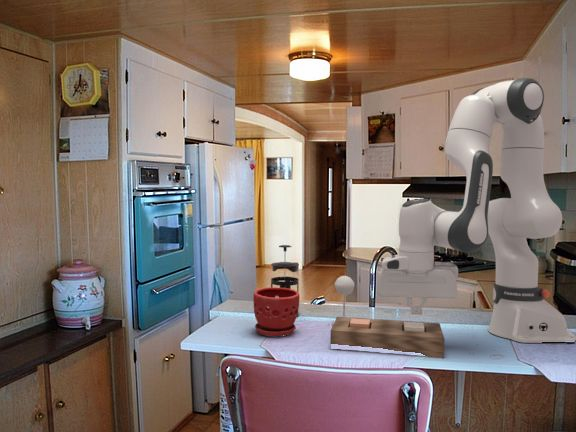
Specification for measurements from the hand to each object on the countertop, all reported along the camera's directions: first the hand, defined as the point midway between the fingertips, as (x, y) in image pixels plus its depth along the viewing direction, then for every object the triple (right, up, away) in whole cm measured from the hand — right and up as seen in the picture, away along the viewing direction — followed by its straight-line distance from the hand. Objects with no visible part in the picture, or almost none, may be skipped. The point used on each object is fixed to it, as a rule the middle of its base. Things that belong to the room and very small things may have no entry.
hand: (416, 313), depth 130 cm
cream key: (-1, -6, 0) cm, 6 cm away
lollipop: (-17, -8, +21) cm, 28 cm away
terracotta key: (-14, -6, +3) cm, 16 cm away
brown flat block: (-8, -9, +2) cm, 12 cm away
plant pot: (-37, -8, +12) cm, 40 cm away
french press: (-35, -7, +32) cm, 48 cm away
